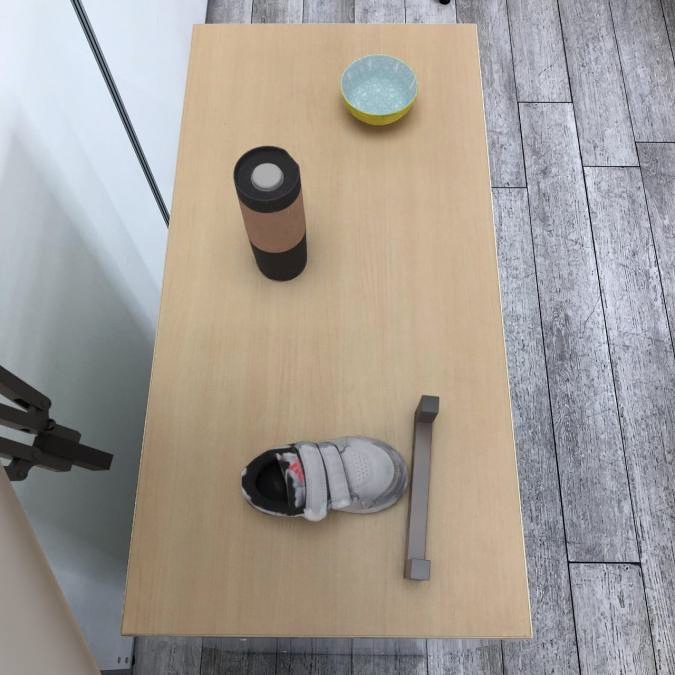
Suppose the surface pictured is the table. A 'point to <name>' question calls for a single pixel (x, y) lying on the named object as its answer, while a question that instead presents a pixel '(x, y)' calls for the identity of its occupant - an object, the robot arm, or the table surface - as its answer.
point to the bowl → (378, 88)
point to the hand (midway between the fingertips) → (103, 462)
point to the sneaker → (325, 478)
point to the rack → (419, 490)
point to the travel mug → (273, 210)
